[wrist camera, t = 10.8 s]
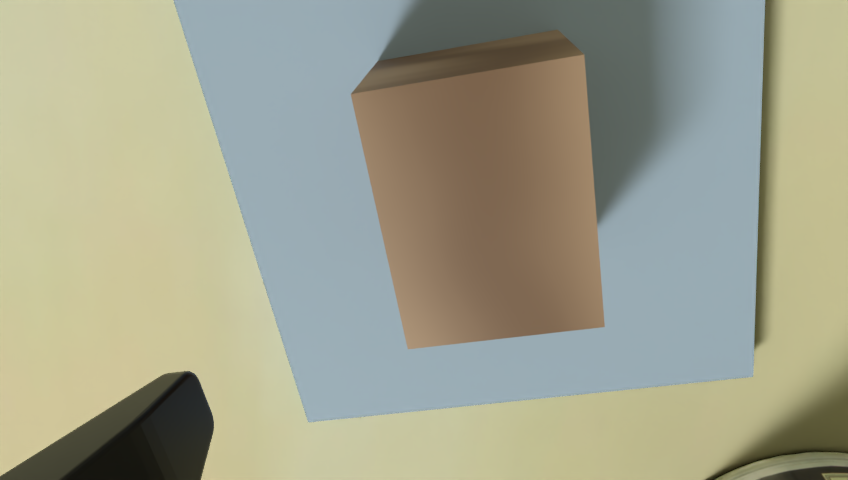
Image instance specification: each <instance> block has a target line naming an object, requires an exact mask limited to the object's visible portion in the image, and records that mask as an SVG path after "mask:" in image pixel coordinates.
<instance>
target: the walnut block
mask: <svg viewBox="0 0 848 480" xmlns="http://www.w3.org/2000/svg"><path fill="white" fill-rule="evenodd" d="M351 98H352V103H353V107H354V111H355V116H356V120H357V125H358V129H359V134H360V138H361V143H362V147H363V152H364V156H365V161H366V165H367V170H368V174H369V178H370V183H371V187H372V192H373V196H374V201H375V205H376V210H377V214H378V219H379V223H380V228H381V232H382V236H383V241H384V245H385V250H386V254H387V259H388V263H389V268H390V272H391V277H392V281H393V286H394V290H395V295H396V299H397V303H398V308H399V312H400V317H401V321H402V326H403V330H404V335H405V339H406V344H407V348H408V349H416V348H425V347H433V346H442V345H451V344H460V343H469V342H478V341H486V340H495V339H504V338H513V337H522V336H531V335H540V334H548V333H557V332H566V331H575V330H584V329H593V328H601V327H605V323H604V310H603V297H602V283H601V270H600V257H599V243H598V230H597V217H596V203H595V190H594V177H593V163H592V150H591V137H590V123H589V110H588V97H587V83H586V70H585V57H584V54H583V53H582V52H581V51H580V50H579V49H578V48H577V47H576V46H575V45H574V44H573V43H572V42H570V41H569V40H568V39H567V38H566V37H565V36H564V35H563V34H562V33H561V32H560V31H559V30H552V31H547V32H541V33H535V34H529V35H524V36H518V37H512V38H507V39H501V40H495V41H490V42H484V43H478V44H472V45H467V46H461V47H455V48H450V49H444V50H438V51H433V52H427V53H421V54H415V55H410V56H404V57H398V58H393V59H387V60H381V61H377V63H376V64H375V65H374V66H373V67H372V69H371V70H370V71H369V72H368V74H367V75H366V76H365V77H364V78H363V80H362V81H361V82H360V83H359V85H358V86H357V87H356V88H355V89H354V91H353V92H352V93H351Z"/></svg>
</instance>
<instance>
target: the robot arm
mask: <svg viewBox="0 0 848 480" xmlns="http://www.w3.org/2000/svg"><path fill="white" fill-rule="evenodd" d="M213 429H214V421H213V416H212V412H211V410H210V407H209V405H208V402H207V400H206V397H205V395H204V392H203V389H202V387H201V384H200V382H199V380H198V378H197V376H196V375H195V374H194V373H192V372H190V371H184V372H175V373H167V374H164V375H162V376H160V377H158V378H157V379H155V380H154V381H152V382H150V383H149V384H147V385H146V386H144V387H142V388H141V389H139V390H138V391H136V392H134V393H133V394H131V395H130V396H128V397H126V398H125V399H123V400H122V401H120V402H118V403H117V404H115V405H114V406H112V407H110V408H109V409H107V410H106V411H104V412H102V413H101V414H99V415H98V416H96V417H94V418H93V419H91V420H90V421H88V422H86V423H85V424H83V425H82V426H80V427H78V428H77V429H75V430H74V431H72V432H70V433H69V434H67V435H66V436H64V437H62V438H61V439H59V440H58V441H56V442H54V443H53V444H51V445H50V446H48V447H46V448H45V449H43V450H42V451H40V452H38V453H37V454H35V455H34V456H32V457H30V458H29V459H27V460H26V461H24V462H22V463H21V464H19V465H18V466H16V467H14V468H13V469H11V470H10V471H8V472H6V473H5V474H3V475H2V476H0V480H201V477H202V473H203V469H204V465H205V461H206V458H207V454H208V450H209V446H210V442H211V439H212V435H213Z"/></svg>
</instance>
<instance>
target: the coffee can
mask: <svg viewBox="0 0 848 480" xmlns="http://www.w3.org/2000/svg"><path fill="white" fill-rule="evenodd" d="M715 480H848V453H839V452H805V453H800V454H792V455H783V456H777V457H773V458H769V459H765V460H760V461H757V462H754V463H751V464H748V465H745V466H742V467H740V468H737V469H735V470H733V471H731V472H728V473H726V474H724V475H722V476H720V477H718V478H717V479H715Z"/></svg>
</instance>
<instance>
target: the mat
mask: <svg viewBox="0 0 848 480" xmlns="http://www.w3.org/2000/svg"><path fill="white" fill-rule="evenodd" d="M174 3H175V7H176V10H177V13H178V16H179V19H180V22H181V25H182V28H183V32H184V35H185V38H186V41H187V44H188V47H189V50H190V54H191V57H192V60H193V63H194V66H195V69H196V72H197V75H198V79H199V82H200V85H201V88H202V91H203V94H204V97H205V100H206V104H207V107H208V110H209V113H210V116H211V119H212V122H213V126H214V129H215V132H216V135H217V138H218V141H219V144H220V147H221V151H222V154H223V157H224V160H225V163H226V166H227V169H228V172H229V176H230V179H231V182H232V185H233V188H234V191H235V194H236V198H237V201H238V204H239V207H240V210H241V213H242V216H243V219H244V223H245V226H246V229H247V232H248V235H249V238H250V241H251V244H252V248H253V251H254V254H255V257H256V260H257V263H258V266H259V269H260V273H261V276H262V279H263V282H264V285H265V288H266V291H267V295H268V298H269V301H270V304H271V307H272V310H273V313H274V316H275V320H276V323H277V326H278V329H279V332H280V335H281V338H282V341H283V345H284V348H285V351H286V354H287V357H288V360H289V363H290V367H291V370H292V373H293V376H294V379H295V382H296V385H297V388H298V392H299V395H300V398H301V401H302V404H303V407H304V410H305V413H306V417H307V420H308V422H316V421H325V420H335V419H345V418H355V417H365V416H374V415H384V414H394V413H404V412H413V411H423V410H433V409H443V408H452V407H462V406H472V405H482V404H492V403H501V402H511V401H521V400H531V399H540V398H550V397H560V396H570V395H579V394H589V393H599V392H609V391H619V390H628V389H638V388H648V387H658V386H667V385H677V384H687V383H697V382H707V381H716V380H726V379H736V378H746V377H753V366H754V334H755V303H756V271H757V240H758V209H759V177H760V146H761V114H762V83H763V51H764V20H765V0H174ZM552 30H559V31H560V32H561V33H562V34H563V35H564V36H565V37H566V38H567V39H568V40H569V41H570V42H572V43H573V44H574V45H575V46H576V47H577V48H578V49H579V50H580V51H581V52H582V53H583V54H584V57H585V70H586V83H587V97H588V110H589V123H590V137H591V150H592V163H593V177H594V190H595V203H596V217H597V230H598V243H599V257H600V270H601V283H602V297H603V310H604V323H605V327H601V328H593V329H584V330H575V331H566V332H557V333H548V334H540V335H531V336H522V337H513V338H504V339H495V340H486V341H478V342H469V343H460V344H451V345H442V346H433V347H425V348H416V349H408V348H407V344H406V339H405V335H404V330H403V326H402V321H401V317H400V312H399V308H398V303H397V299H396V295H395V290H394V286H393V281H392V277H391V272H390V268H389V263H388V259H387V254H386V250H385V245H384V241H383V236H382V232H381V228H380V223H379V219H378V214H377V210H376V205H375V201H374V196H373V192H372V187H371V183H370V178H369V174H368V170H367V165H366V161H365V156H364V152H363V147H362V143H361V138H360V134H359V129H358V125H357V120H356V116H355V111H354V107H353V103H352V98H351V93H352V92H353V91H354V89H355V88H356V87H357V86H358V85H359V83H360V82H361V81H362V80H363V78H364V77H365V76H366V75H367V74H368V72H369V71H370V70H371V69H372V67H373V66H374V65H375V64H376V63H377V61H381V60H387V59H393V58H398V57H404V56H410V55H415V54H421V53H427V52H433V51H438V50H444V49H450V48H455V47H461V46H467V45H472V44H478V43H484V42H490V41H495V40H501V39H507V38H512V37H518V36H524V35H529V34H535V33H541V32H547V31H552Z"/></svg>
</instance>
